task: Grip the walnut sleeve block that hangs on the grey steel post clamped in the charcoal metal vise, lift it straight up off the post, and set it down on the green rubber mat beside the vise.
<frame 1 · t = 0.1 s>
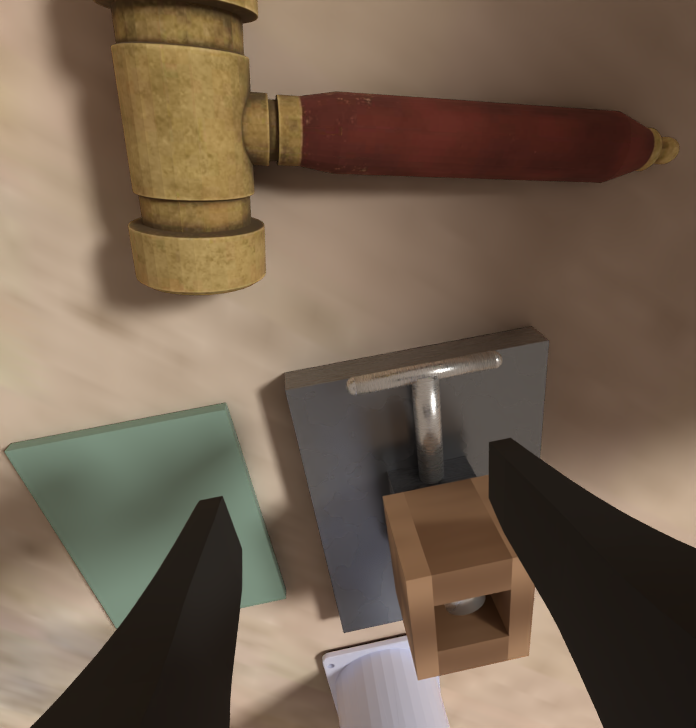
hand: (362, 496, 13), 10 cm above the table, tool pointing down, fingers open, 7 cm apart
mat: (168, 527, 25), on the table
vise: (421, 489, 26), on the table
sleeve block: (440, 536, 23), point 3 cm above the table, touching vise
gavel: (414, 136, 18), on the table
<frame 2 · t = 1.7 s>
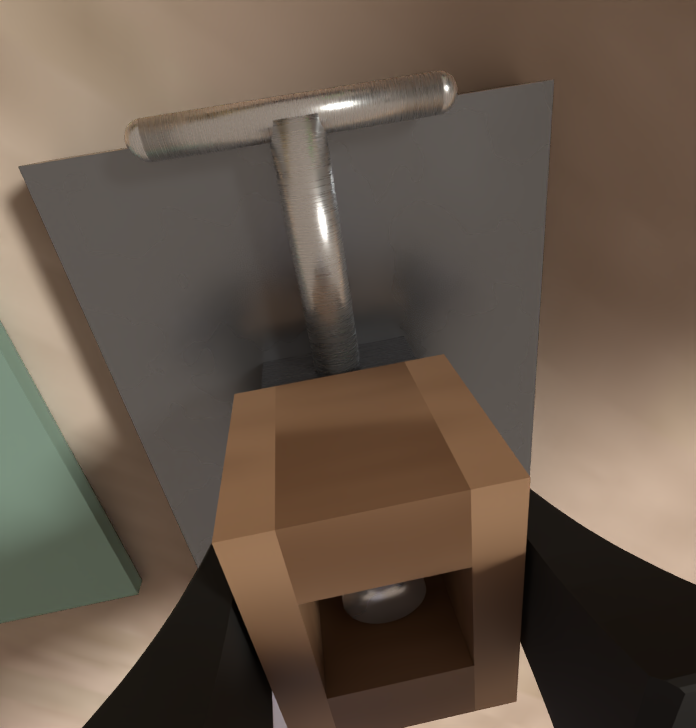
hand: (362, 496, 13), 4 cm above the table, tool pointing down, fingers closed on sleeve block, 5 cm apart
vise: (343, 413, 16), on the table
sleeve block: (358, 480, 13), point 3 cm above the table, touching gripper, vise
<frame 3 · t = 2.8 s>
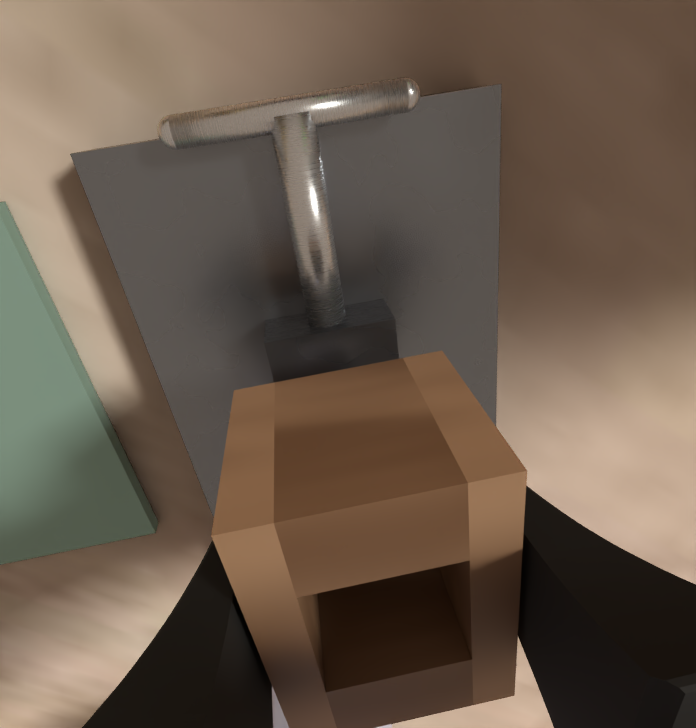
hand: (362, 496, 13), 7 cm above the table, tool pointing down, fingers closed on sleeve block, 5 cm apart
vise: (334, 370, 19), on the table
sleeve block: (357, 477, 13), point 6 cm above the table, touching gripper
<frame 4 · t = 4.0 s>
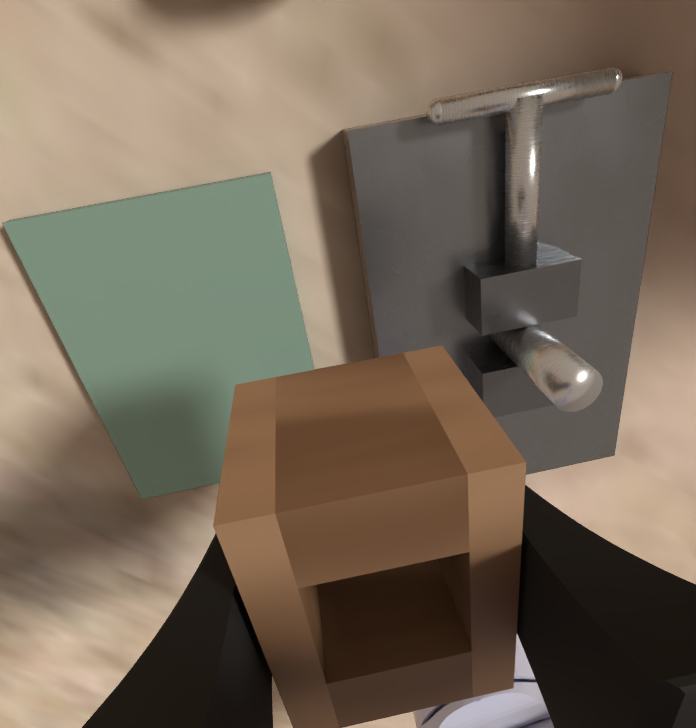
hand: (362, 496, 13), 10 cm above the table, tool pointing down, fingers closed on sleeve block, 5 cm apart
mat: (198, 355, 21), on the table
vise: (495, 315, 22), on the table
sleeve block: (358, 471, 13), point 10 cm above the table, touching gripper
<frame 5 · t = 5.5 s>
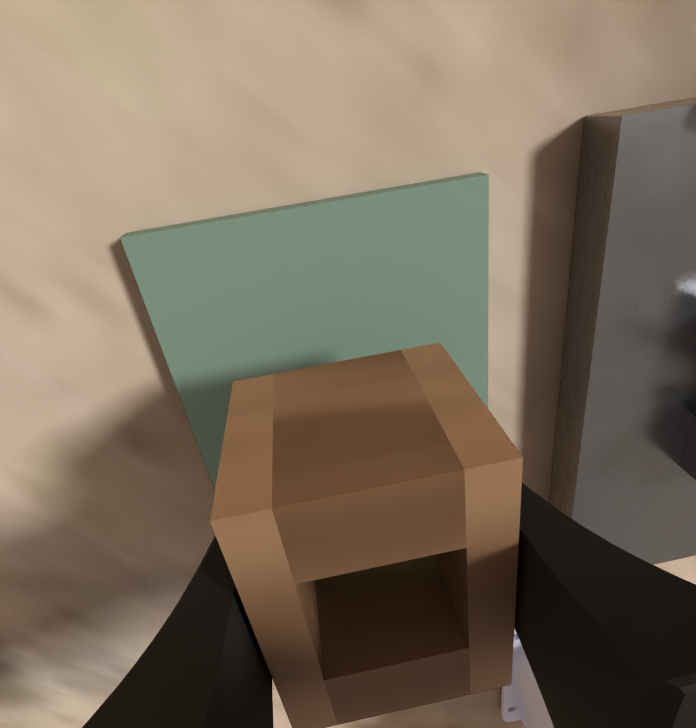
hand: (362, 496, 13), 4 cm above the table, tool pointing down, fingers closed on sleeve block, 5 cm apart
mat: (343, 408, 16), on the table
sleeve block: (356, 469, 13), point 3 cm above the table, touching gripper
when the fingers open (2 cm above the table, at t = 6.5 s): sleeve block stays where it is, resting on mat.
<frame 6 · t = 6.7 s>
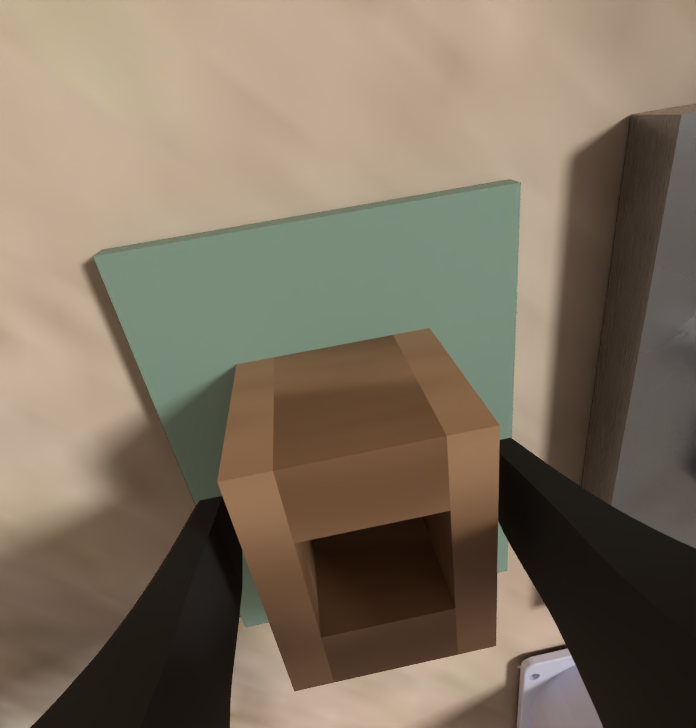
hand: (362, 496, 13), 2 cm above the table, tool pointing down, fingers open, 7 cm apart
mat: (350, 441, 15), on the table
sleeve block: (352, 448, 14), point 1 cm above the table, touching mat
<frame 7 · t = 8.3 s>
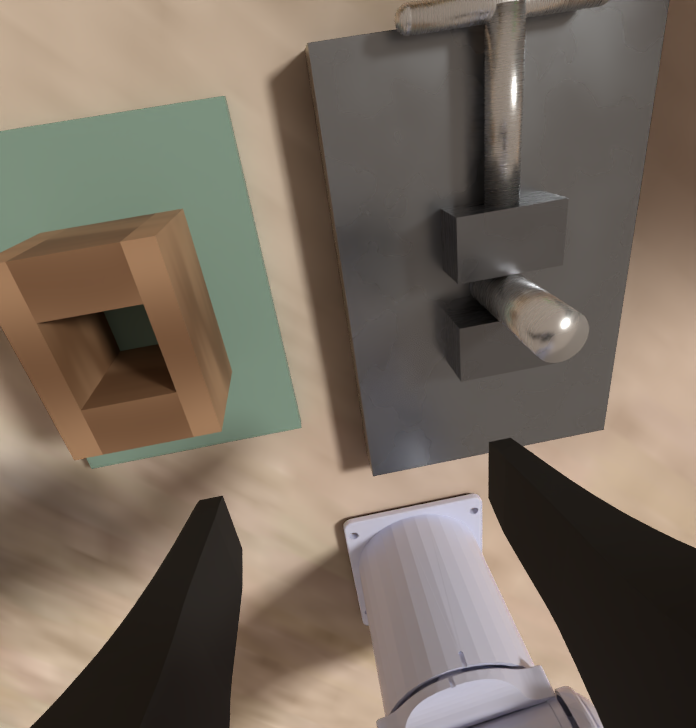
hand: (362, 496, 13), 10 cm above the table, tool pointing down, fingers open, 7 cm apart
mat: (150, 307, 19), on the table
vise: (476, 271, 21), on the table
sleeve block: (145, 308, 19), point 1 cm above the table, touching mat
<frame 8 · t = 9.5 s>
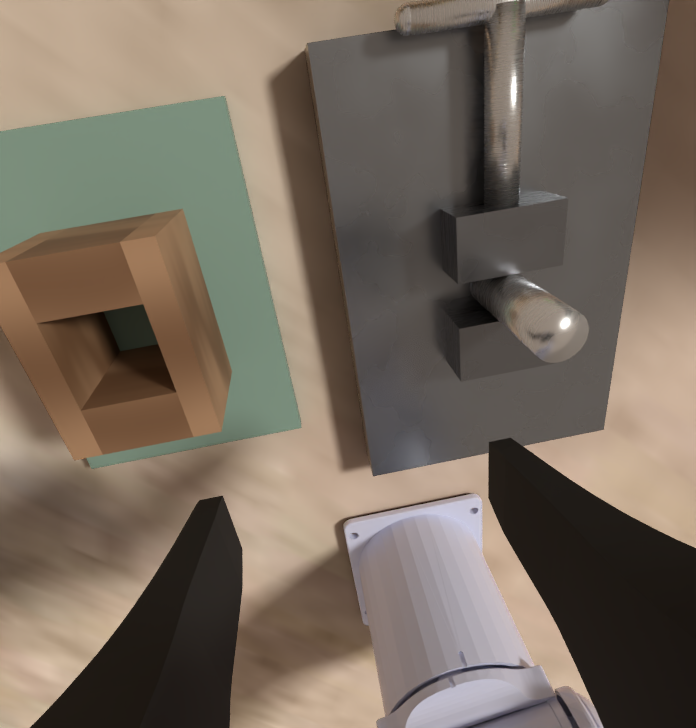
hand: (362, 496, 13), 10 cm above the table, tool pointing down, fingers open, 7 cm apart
mat: (150, 307, 19), on the table
vise: (476, 271, 21), on the table
sleeve block: (145, 308, 19), point 1 cm above the table, touching mat
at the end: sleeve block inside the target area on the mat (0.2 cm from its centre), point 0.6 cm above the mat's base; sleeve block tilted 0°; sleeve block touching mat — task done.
